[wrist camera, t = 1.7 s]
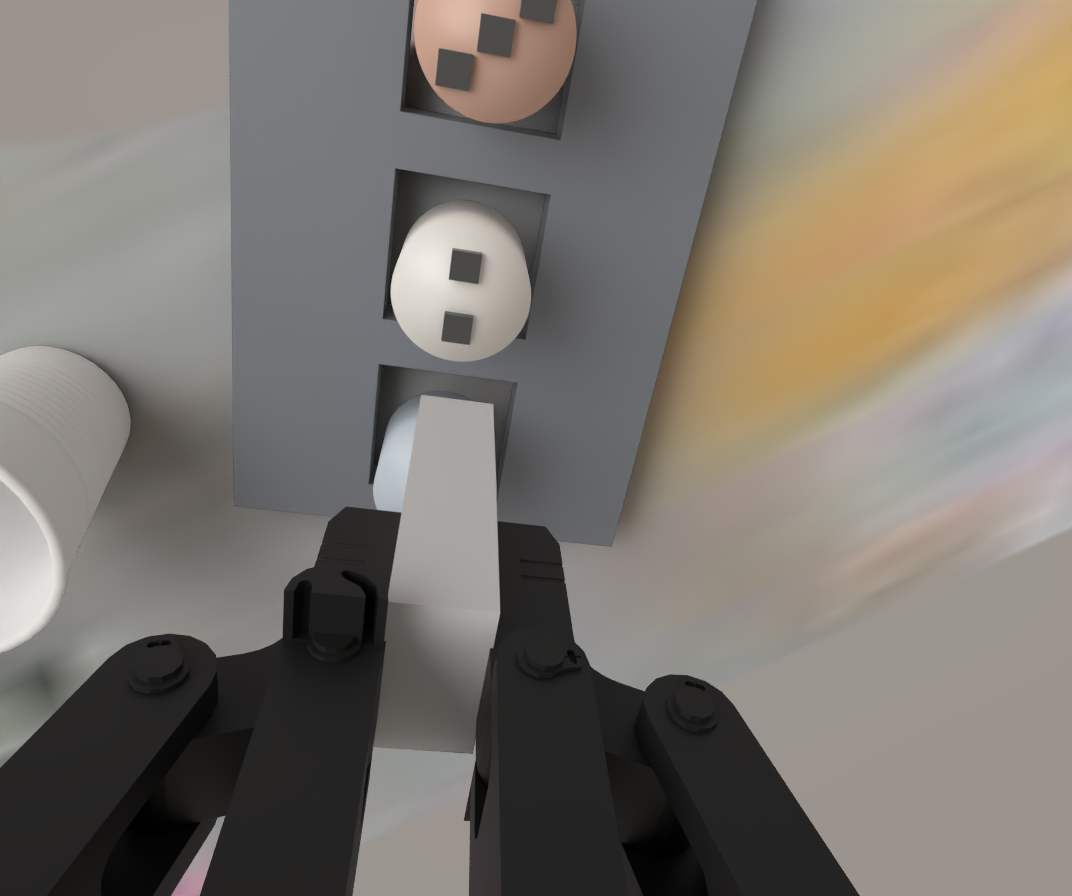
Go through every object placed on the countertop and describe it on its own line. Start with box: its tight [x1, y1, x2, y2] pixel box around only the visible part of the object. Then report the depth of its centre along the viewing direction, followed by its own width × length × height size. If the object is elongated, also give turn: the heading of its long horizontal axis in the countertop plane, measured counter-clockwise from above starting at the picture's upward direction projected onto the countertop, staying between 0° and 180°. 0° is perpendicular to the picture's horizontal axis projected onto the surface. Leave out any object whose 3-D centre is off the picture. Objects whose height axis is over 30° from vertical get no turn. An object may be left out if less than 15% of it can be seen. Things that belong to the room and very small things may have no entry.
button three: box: [414, 0, 576, 124], centre depth 25 cm, size 5×5×5 cm
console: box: [229, 0, 757, 547], centre depth 32 cm, size 18×26×2 cm
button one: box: [373, 391, 497, 513], centre depth 32 cm, size 5×5×5 cm
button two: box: [391, 200, 531, 362], centre depth 28 cm, size 5×5×5 cm
